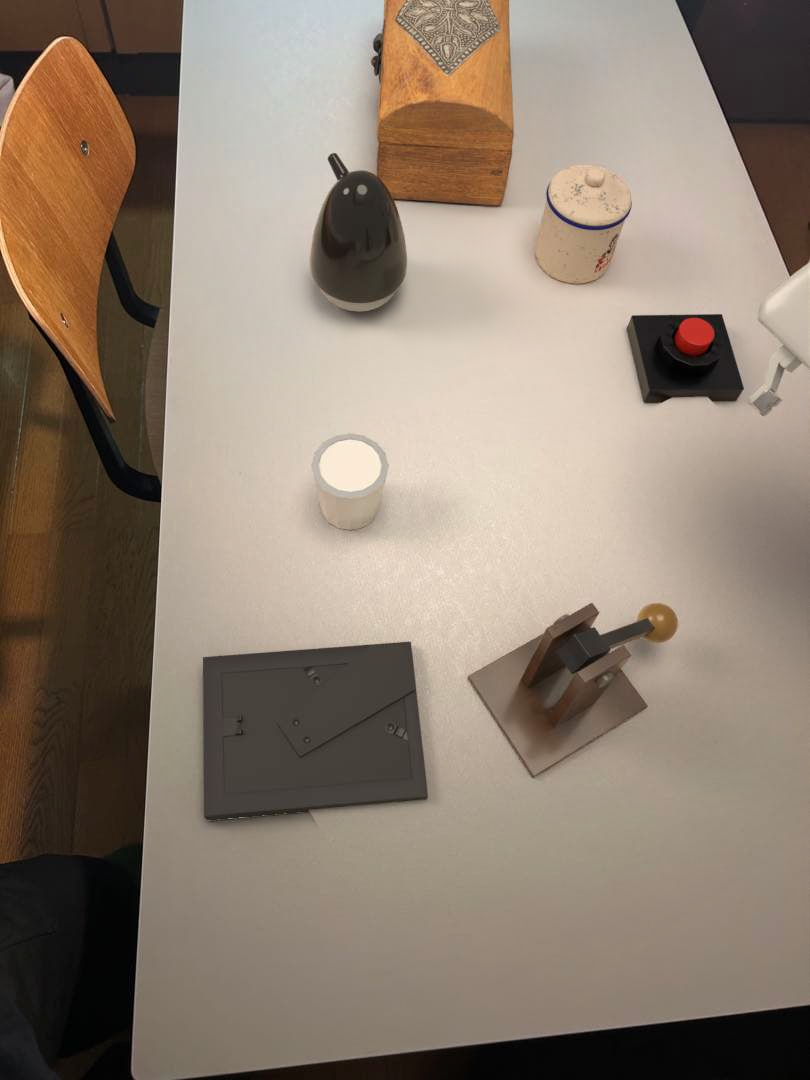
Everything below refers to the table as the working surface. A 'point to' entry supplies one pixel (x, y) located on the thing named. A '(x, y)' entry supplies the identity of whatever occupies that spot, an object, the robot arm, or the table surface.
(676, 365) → the button box
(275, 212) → the table surface
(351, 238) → the pump dispenser
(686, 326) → the button
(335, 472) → the white cylinder
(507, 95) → the wooden box
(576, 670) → the rod
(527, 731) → the bracket
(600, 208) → the teacup with lid
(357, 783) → the picture frame
